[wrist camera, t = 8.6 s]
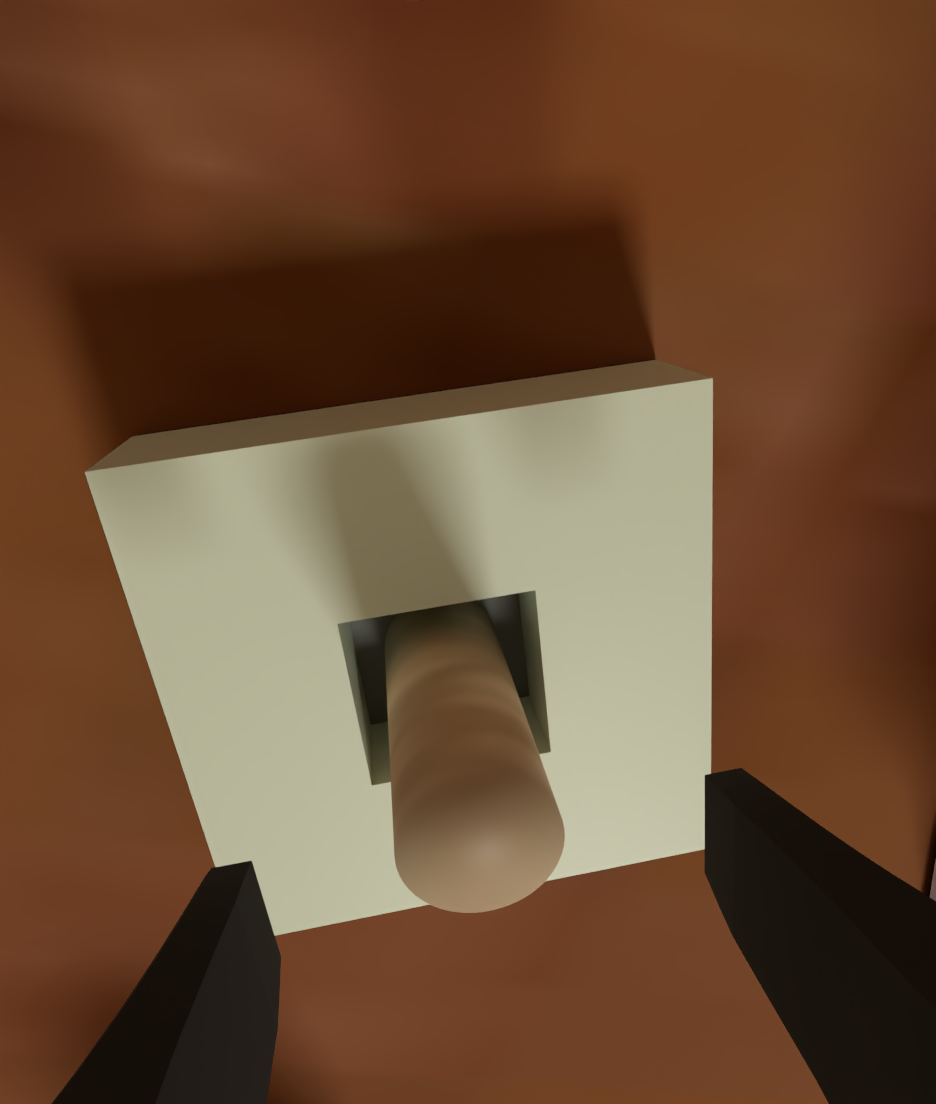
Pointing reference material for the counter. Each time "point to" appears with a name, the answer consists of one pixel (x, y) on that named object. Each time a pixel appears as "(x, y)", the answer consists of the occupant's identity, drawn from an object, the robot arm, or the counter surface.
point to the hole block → (420, 583)
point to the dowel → (464, 766)
